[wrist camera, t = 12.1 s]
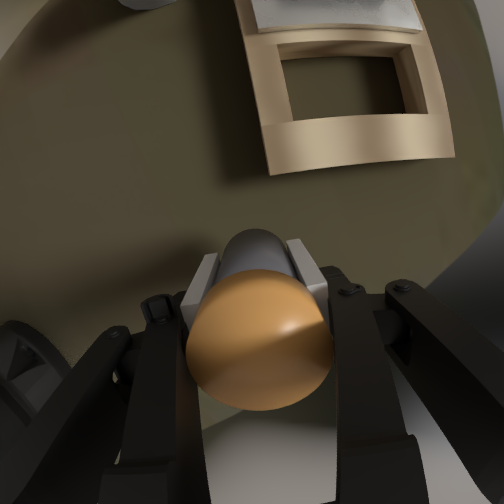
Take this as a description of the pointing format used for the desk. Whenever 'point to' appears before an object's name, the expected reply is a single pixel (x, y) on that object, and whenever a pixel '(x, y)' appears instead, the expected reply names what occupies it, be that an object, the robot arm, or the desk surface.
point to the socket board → (346, 127)
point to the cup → (145, 4)
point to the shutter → (335, 15)
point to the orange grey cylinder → (258, 329)
